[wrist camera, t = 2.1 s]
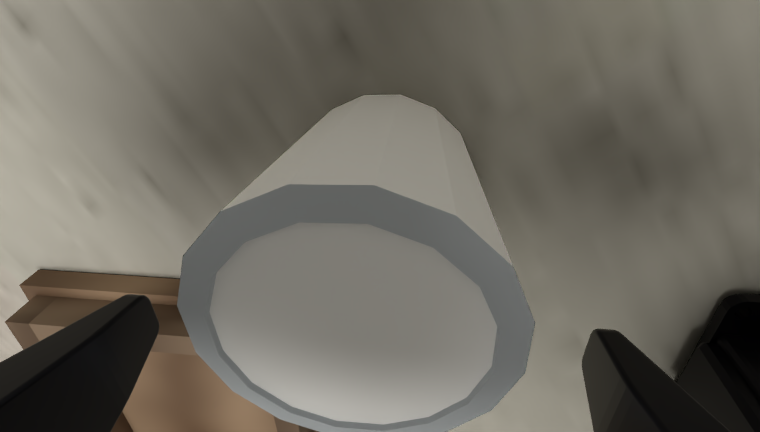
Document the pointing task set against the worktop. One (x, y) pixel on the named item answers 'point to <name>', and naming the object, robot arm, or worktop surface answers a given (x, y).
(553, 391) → the worktop surface
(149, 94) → the worktop surface
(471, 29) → the worktop surface
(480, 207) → the white cup
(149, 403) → the walnut holder
